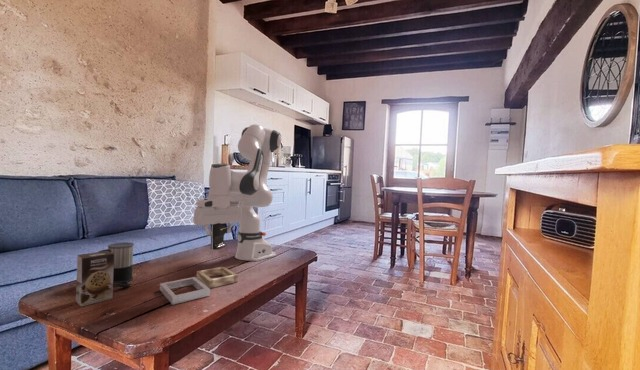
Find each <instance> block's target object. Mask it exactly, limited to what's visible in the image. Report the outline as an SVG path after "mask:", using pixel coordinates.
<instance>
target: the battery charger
mask: <svg viewBox="0 0 640 370" xmlns="http://www.w3.org/2000/svg"><path fill="white" fill-rule="evenodd" d="M227 228H228V223H223V224H221V223H217V224H211V225H210V231H212V233H211V234H212V235H210V249H211V250H214V251H215V250H221V249H223V248H225V247H226V243H225V234H227V233H226V232H227Z"/></svg>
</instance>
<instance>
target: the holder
mask: <svg viewBox="0 0 640 370" xmlns="http://www.w3.org/2000/svg"><path fill="white" fill-rule="evenodd" d="M188 286H193V287H194V288H195V289H196V290H193V291H188V292H184V293H183V292H182V293H179V294H175V292H174V291H172V289H173V290H174V289H178V288H183V287H188ZM159 291H160V292H161V293H162V294H163V296H164V297H165V298H166V299H167V300H168V302H169V303H170V304H171V305H172V306H173V305H177V304H180V303H181V304H182V303H185V302H190V301H194V300H198V299H202V298H206V297H210V295H211V288H208V287H207V286H206V285H204V284H203V283H202V282H201V281H199V280H198V279H197V276H192V277H188V278H181V279H177V280H173V281H165V282H160V283H159Z"/></svg>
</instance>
